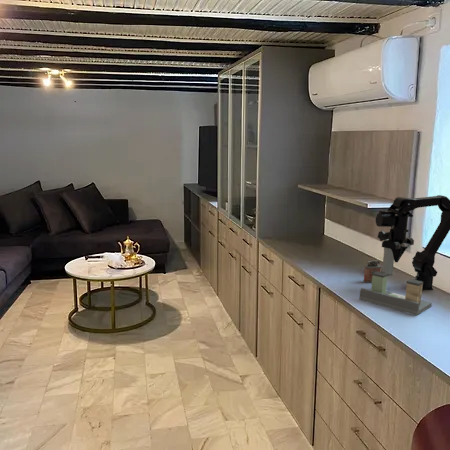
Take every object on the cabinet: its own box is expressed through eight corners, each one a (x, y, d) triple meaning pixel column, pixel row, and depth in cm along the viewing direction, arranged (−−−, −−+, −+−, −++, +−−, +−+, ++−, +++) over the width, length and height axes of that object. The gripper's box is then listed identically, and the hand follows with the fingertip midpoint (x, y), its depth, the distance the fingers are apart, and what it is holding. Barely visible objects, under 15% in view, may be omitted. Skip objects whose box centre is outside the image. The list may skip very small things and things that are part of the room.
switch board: (376, 291, 198) (377, 281, 197) (431, 306, 183) (432, 295, 182) (359, 299, 187) (360, 289, 186) (416, 315, 172) (418, 303, 171)
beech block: (408, 300, 183) (411, 279, 181) (420, 303, 180) (423, 281, 178) (404, 303, 180) (406, 281, 178) (416, 306, 177) (419, 283, 175)
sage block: (375, 292, 192) (377, 271, 191) (385, 294, 189) (388, 273, 187) (370, 294, 189) (372, 273, 188) (381, 297, 186) (383, 275, 184)
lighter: (365, 283, 210) (367, 261, 209) (361, 281, 213) (363, 260, 212) (381, 282, 212) (383, 261, 211) (377, 280, 216) (379, 259, 214)
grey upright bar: (388, 272, 231) (393, 222, 226) (392, 274, 226) (397, 224, 221) (381, 271, 231) (386, 222, 226) (384, 274, 226) (389, 224, 221)
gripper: (391, 222, 211) (388, 255, 214) (371, 225, 198) (368, 261, 201) (416, 226, 204) (412, 260, 206) (397, 229, 191) (393, 266, 193)
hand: (396, 262), depth 202 cm, fingers closed
